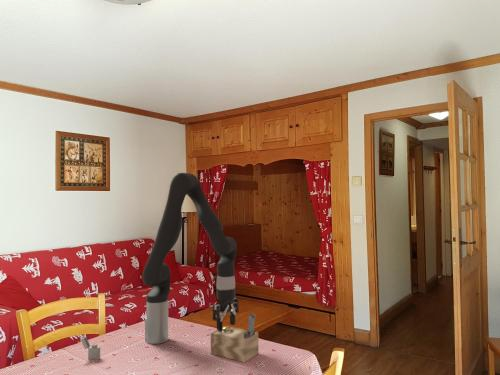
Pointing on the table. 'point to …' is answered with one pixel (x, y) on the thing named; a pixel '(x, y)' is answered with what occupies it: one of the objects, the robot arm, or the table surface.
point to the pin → (226, 329)
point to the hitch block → (235, 344)
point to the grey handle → (251, 324)
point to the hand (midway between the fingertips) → (226, 327)
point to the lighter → (91, 349)
